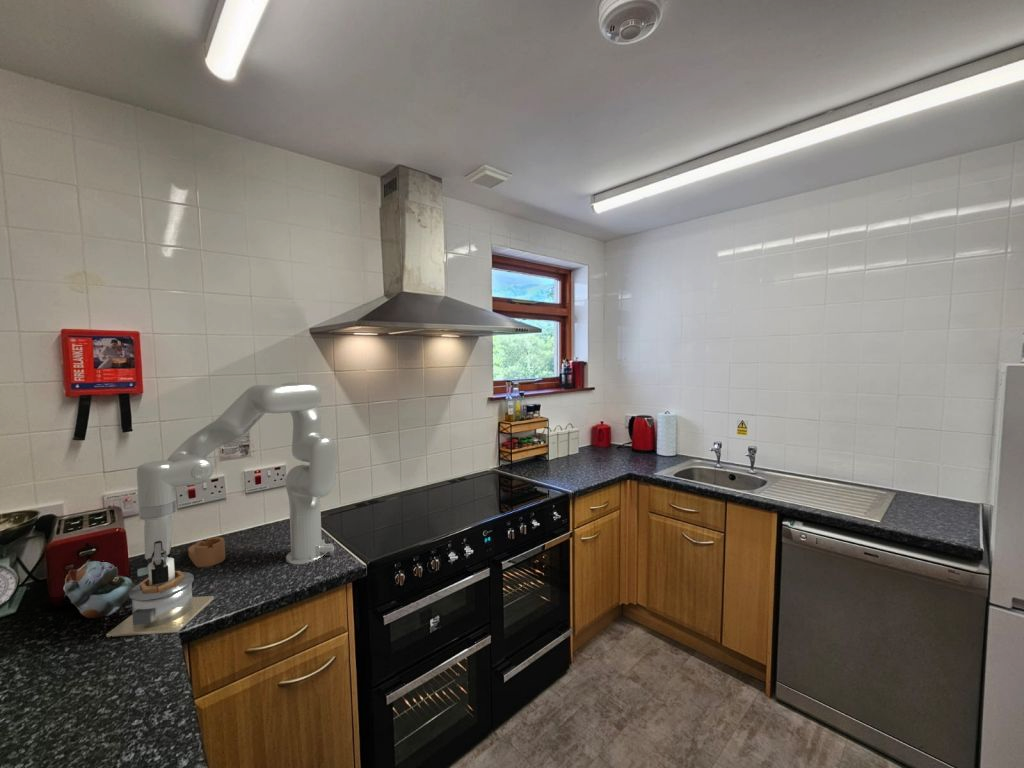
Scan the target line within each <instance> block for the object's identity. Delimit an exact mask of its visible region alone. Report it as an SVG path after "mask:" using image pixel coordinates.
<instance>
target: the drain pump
mask: <svg viewBox="0 0 1024 768" xmlns="http://www.w3.org/2000/svg"><path fill="white" fill-rule="evenodd" d="M161 559H163V560H164V557H163V558H161ZM163 562H164V561H163ZM167 565H168V575H169V580H168V581H167V582H163V583H159V584H155V585H153V584H152V572H151V569H152V561H151V562H150V563H148V564H147V566H146V567H141V568H137V571H136V572H137V577H143V576H146V575H148V577H149V586H159V585H162V584H165V583H168V582H171V581H173V580H174V579H175V571H176V570H175V558H173V557H170V558H168V557H167Z"/></svg>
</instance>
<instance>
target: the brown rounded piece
mask: <svg viewBox="0 0 1024 768" xmlns="http://www.w3.org/2000/svg"><path fill="white" fill-rule="evenodd" d="M187 549H188V557H189V559H190V560H191V562H192V563H193V564H194V566H195V567H197V568H206V567H207V568H208V567H211V566H215V565H218V564H220V563H222V562H223V561H224V560H226V545H225V538H224V537H222V536H221V537H220V536H215V537H209V538H206V541H203V540H202V539H201V540H199V541H197V542H196V543H194V544H193V545H190V546H189V547H188V548H187Z"/></svg>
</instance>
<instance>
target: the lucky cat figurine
mask: <svg viewBox="0 0 1024 768" xmlns="http://www.w3.org/2000/svg"><path fill="white" fill-rule="evenodd" d="M100 561H101V560H100ZM100 561H97V560H92V559H89V558H88V560H86V562H84V563H83V564H82V566H81V567H79V568H77V569H70V570H68V574H66V576H65V579H64V585H63V591H64V593H65V595H66V597H68V598H69V600H70V603H71V604H73V605H74V606H75V607H76V609H77V610H79V613H80V614H81V615H82V616H83V617H85V618H86V619H98V618H101V617H109V616H110V615H112V614H114V613H116V612H117V611H118V610H119V609H120V608H121V607H122V605H124V604H125V603H126V602H127V601H129V600H131V599H130V598H129V592H130V590H131V589H132V588H133V587H135V583H134V582H133V580H132V579H131V578H130V577H127V576H124V575H119V570H118V567H117V566H116V567H115V565H114V564H113V563H112V564H111V563H109V562H100Z"/></svg>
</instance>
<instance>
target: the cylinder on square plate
mask: <svg viewBox="0 0 1024 768" xmlns="http://www.w3.org/2000/svg"><path fill="white" fill-rule="evenodd" d="M194 577H195V576H194V574H193V573H191V572H186V571H181V570H175V579H174V580H173V581H171V582H168V583H165V584H162V585H159V586H149V576H148V577H146V579H144V580H143V581H141V582H140V583H138V584H137V585H134V587H133V588H132V589H131V590H130V592H129V598H130V599H129V600H131V605H132V606H131V608H132V609H131V610H132V614H131V615H130V616H128V617H127V618H126V619H124V620H123V621H122V622H120V623H119V624H118V625H116V626H115V627H114V628H112V629H111V630H110V631H108V632H106V633H105V636H106V638H109V637H111V636H112V637H124V636H127V637H128V636H139V635H141V636H143V635H154V634H170V633H171V634H172V633H179V631H180V630H182V629H183V628H184V627H185V626H186V625H187V624H188V623H189V622H190V621H192V620H193V618H195V617H196V616H197V615H198V614H199V613H200V612H202V611H203V609H205V608H206V606H208V605H209V604H210V603H211V602H212V601H213V600H214V599H215V596H214V595H208V596H207V595H204V596H193V586H192V585H193V584H192V583H193V582H194ZM112 637H111V638H112Z"/></svg>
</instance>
